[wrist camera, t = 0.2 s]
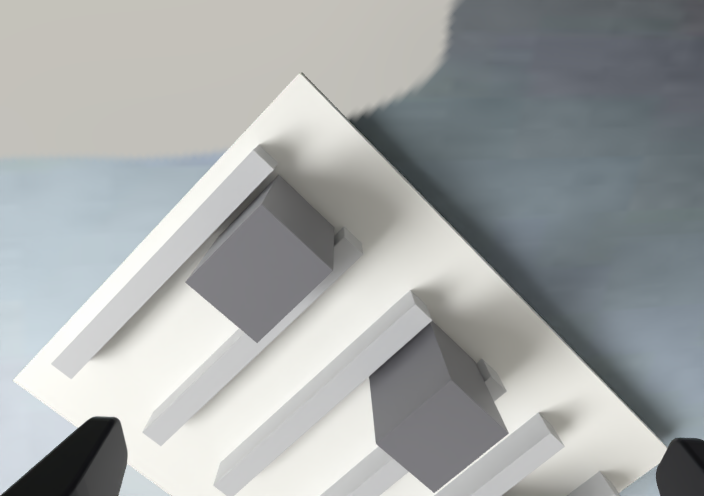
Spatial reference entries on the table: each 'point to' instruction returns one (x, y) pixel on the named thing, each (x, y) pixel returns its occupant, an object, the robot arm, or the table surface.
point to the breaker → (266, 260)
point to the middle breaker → (433, 408)
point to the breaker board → (326, 342)
